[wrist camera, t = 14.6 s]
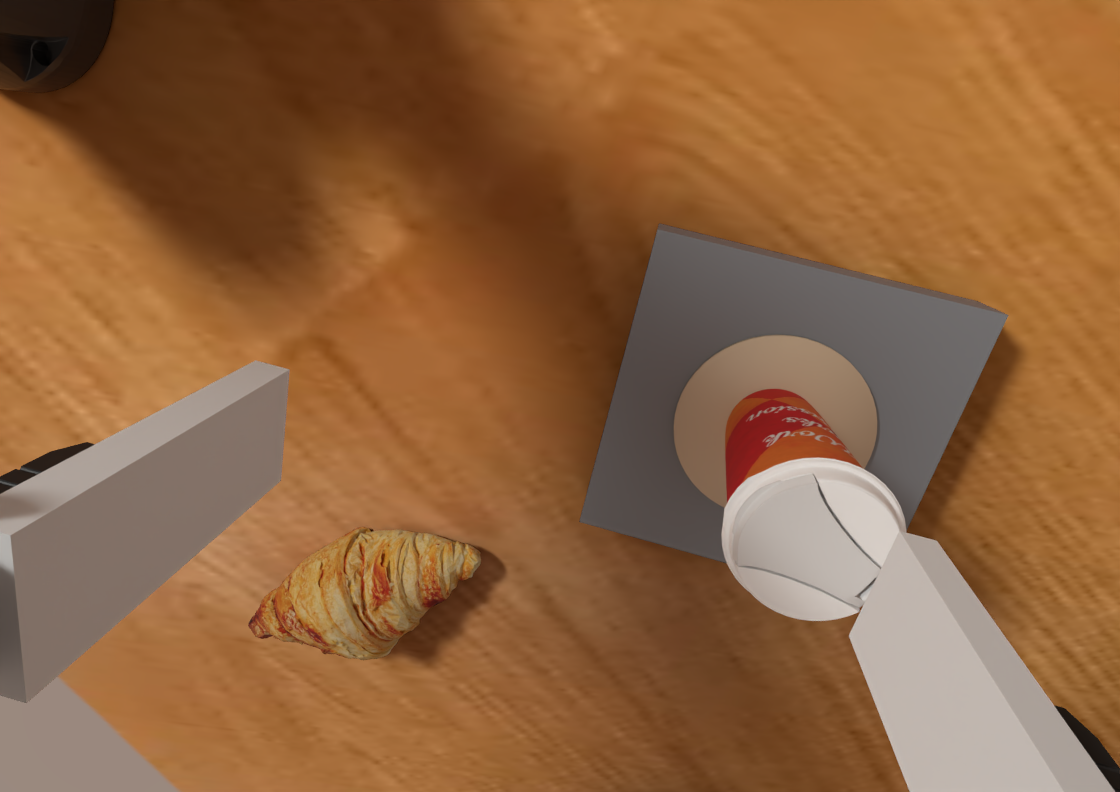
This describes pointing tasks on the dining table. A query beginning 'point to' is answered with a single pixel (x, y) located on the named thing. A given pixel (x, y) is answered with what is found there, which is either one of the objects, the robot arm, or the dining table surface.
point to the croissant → (364, 591)
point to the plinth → (774, 378)
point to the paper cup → (801, 511)
